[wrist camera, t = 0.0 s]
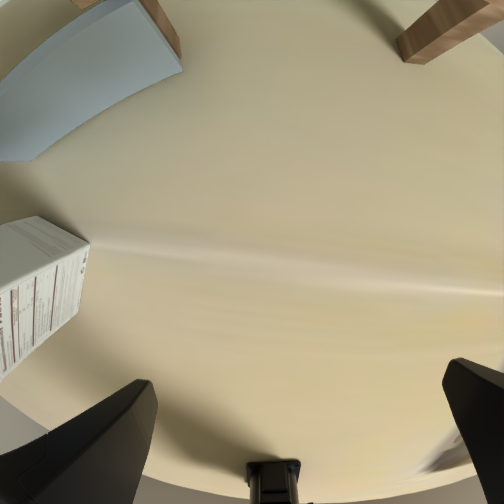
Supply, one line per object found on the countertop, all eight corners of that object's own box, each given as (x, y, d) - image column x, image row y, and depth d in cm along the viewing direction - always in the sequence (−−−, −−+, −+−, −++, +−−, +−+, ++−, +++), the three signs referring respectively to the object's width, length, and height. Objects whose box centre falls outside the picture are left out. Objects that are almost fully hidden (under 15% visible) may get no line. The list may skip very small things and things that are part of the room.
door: (175, 47, 17) (125, -25, 7) (183, 70, 18) (132, 1, 8) (26, 139, 18) (-53, 134, 9) (30, 161, 19) (-52, 163, 9)
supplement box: (28, 280, 22) (-58, 331, 10) (37, 212, 21) (-69, 241, 8) (80, 314, 23) (-4, 389, 11) (94, 243, 21) (-18, 298, 9)
